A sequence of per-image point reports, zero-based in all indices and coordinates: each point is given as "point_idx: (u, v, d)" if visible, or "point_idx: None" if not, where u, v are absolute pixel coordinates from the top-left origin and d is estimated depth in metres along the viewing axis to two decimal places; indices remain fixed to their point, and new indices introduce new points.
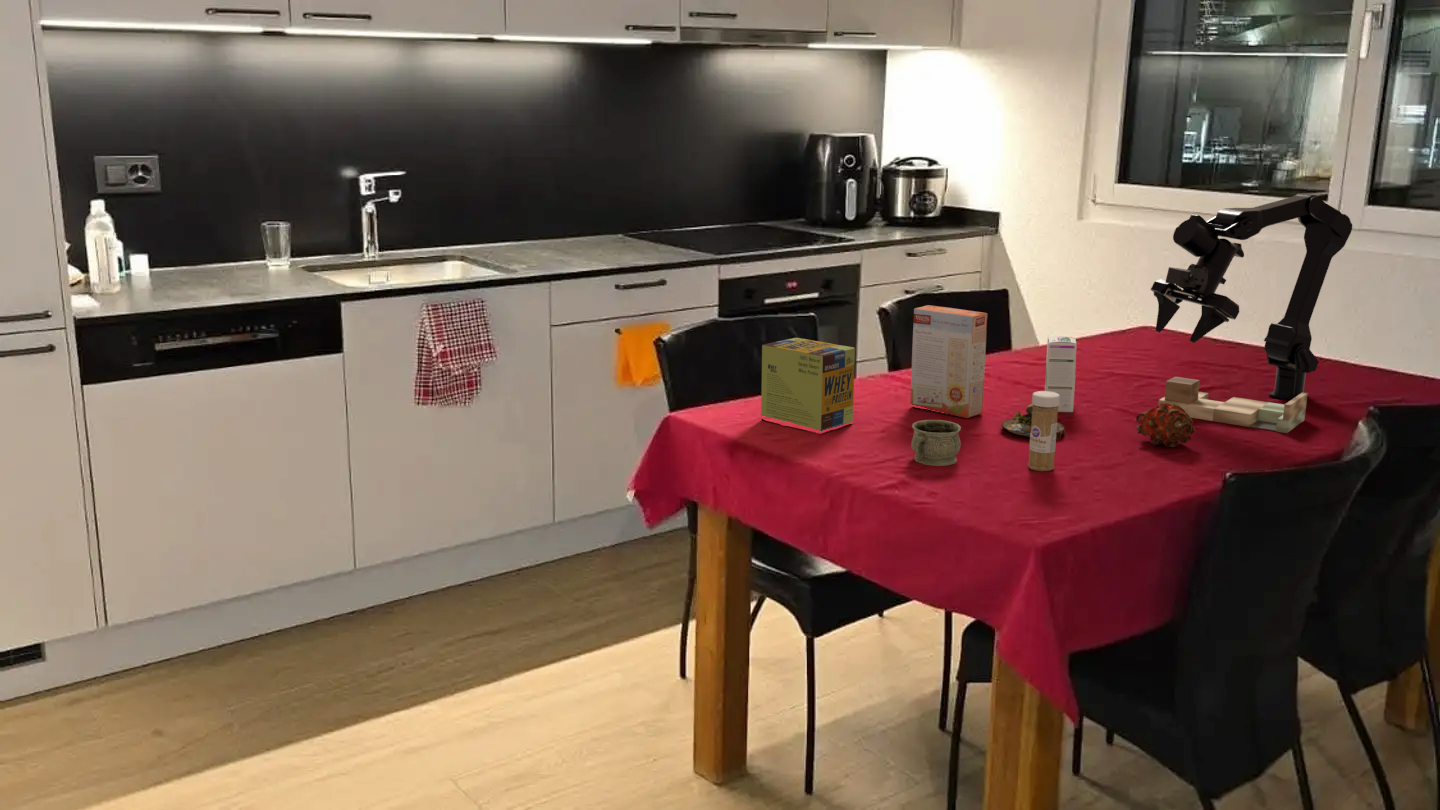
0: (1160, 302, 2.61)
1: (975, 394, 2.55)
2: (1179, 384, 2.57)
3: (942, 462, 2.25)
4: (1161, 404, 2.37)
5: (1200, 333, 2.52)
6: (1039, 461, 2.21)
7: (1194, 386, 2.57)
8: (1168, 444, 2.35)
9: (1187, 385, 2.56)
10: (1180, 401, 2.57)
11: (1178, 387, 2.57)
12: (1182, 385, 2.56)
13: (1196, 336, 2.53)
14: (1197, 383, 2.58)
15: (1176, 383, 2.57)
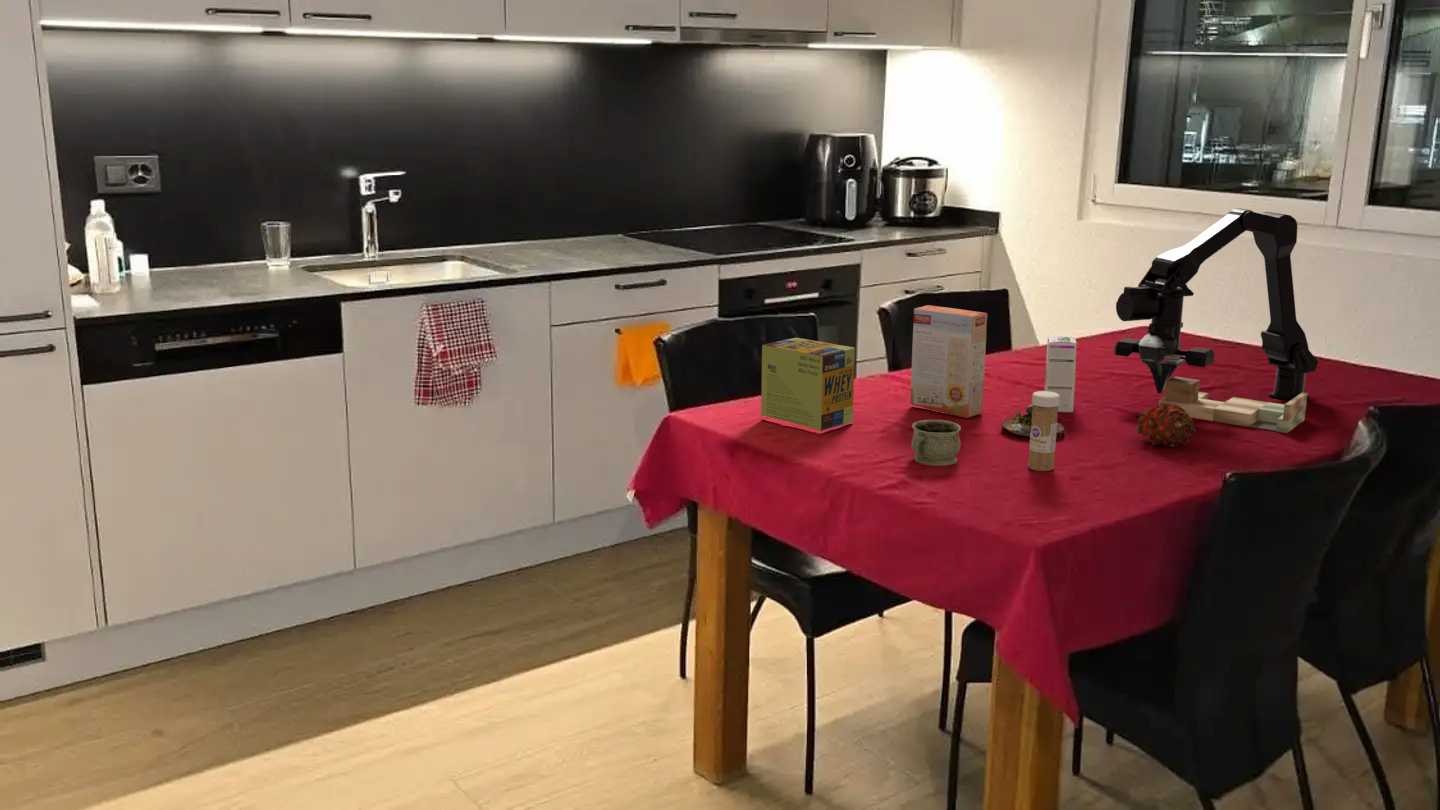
0: (1151, 367, 2.60)
1: (975, 394, 2.55)
2: (1179, 384, 2.57)
3: (942, 462, 2.25)
4: (1161, 404, 2.37)
5: (1165, 383, 2.61)
6: (1039, 461, 2.21)
7: (1194, 386, 2.57)
8: (1168, 444, 2.35)
9: (1187, 385, 2.56)
10: (1180, 400, 2.57)
11: (1178, 387, 2.57)
12: (1182, 385, 2.56)
13: (1163, 387, 2.61)
14: (1197, 383, 2.58)
15: (1176, 383, 2.57)
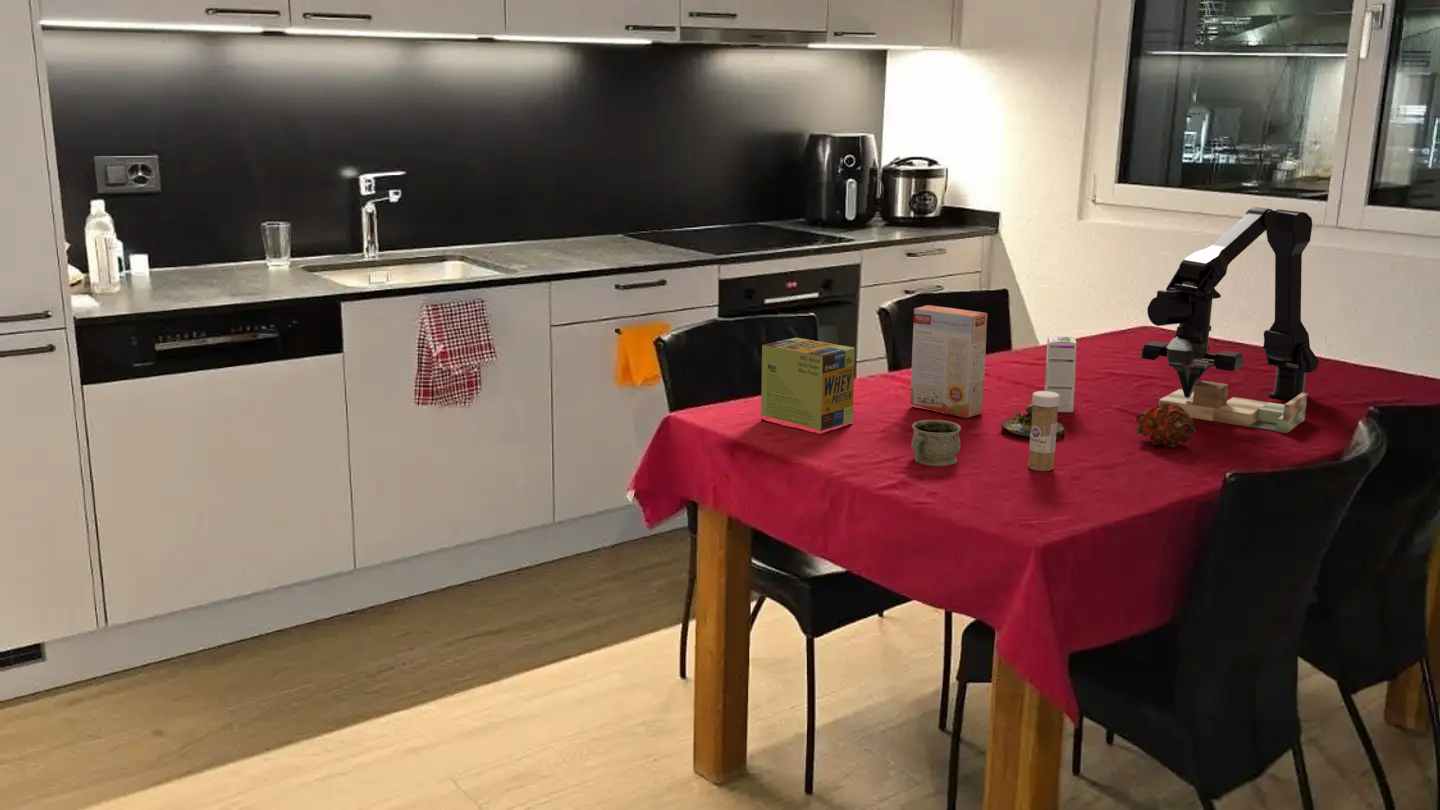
0: (1179, 371, 2.57)
1: (975, 394, 2.55)
2: (1207, 388, 2.53)
3: (942, 462, 2.25)
4: (1161, 404, 2.37)
5: (1193, 387, 2.58)
6: (1039, 461, 2.21)
7: (1223, 391, 2.54)
8: (1168, 444, 2.35)
9: (1216, 389, 2.52)
10: (1208, 405, 2.54)
11: (1206, 391, 2.53)
12: (1210, 390, 2.53)
13: (1191, 391, 2.58)
14: (1226, 387, 2.55)
15: (1204, 387, 2.53)
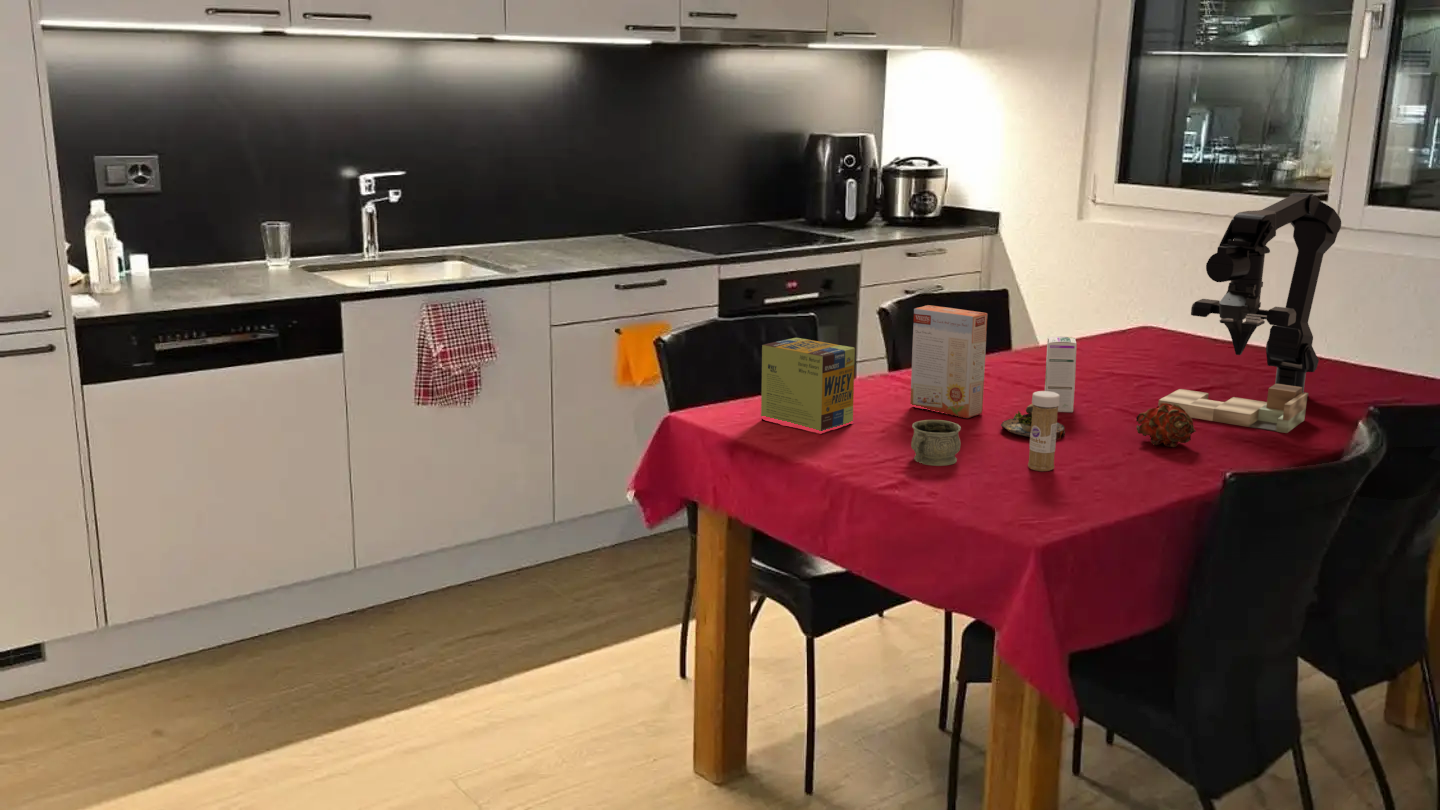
0: (1230, 327, 2.55)
1: (975, 394, 2.55)
2: (1282, 391, 2.51)
3: (942, 462, 2.25)
4: (1161, 404, 2.37)
5: (1245, 344, 2.55)
6: (1039, 461, 2.21)
7: (1298, 394, 2.51)
8: (1168, 444, 2.35)
9: (1291, 392, 2.50)
10: (1282, 408, 2.51)
11: (1281, 394, 2.51)
12: (1285, 393, 2.51)
13: (1242, 349, 2.56)
14: (1300, 390, 2.52)
15: (1279, 390, 2.51)
